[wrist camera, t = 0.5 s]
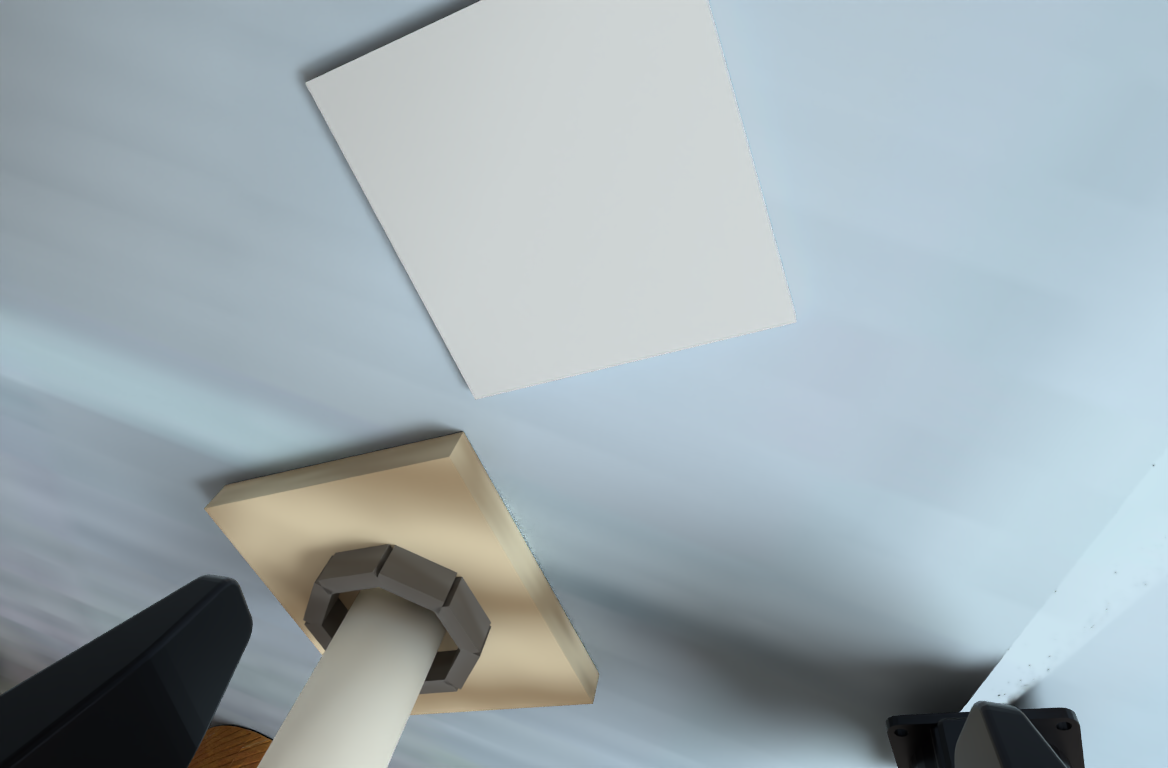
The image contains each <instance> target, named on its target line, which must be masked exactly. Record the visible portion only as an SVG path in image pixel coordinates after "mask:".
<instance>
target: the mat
mask: <svg viewBox="0 0 1168 768" xmlns="http://www.w3.org/2000/svg"><path fill="white" fill-rule="evenodd" d="M305 84H306V85H307V87H308V89H309V91H310V93H311V95H312V97H313V99H314V100H315V102H316V104H317V106H318V108H319V110H320V112H321V113H322V115H323V117H324V119H325V121H326V123H327V125H328V126H329V128H330V130H331V132H332V134H333V136H334V138H335V139H336V141H337V143H338V145H339V147H340V149H341V151H342V152H343V154H344V156H345V158H346V160H347V162H348V164H349V165H350V167H351V169H352V171H353V173H354V175H355V177H356V178H357V180H358V182H359V184H360V186H361V188H362V190H363V192H364V193H365V195H366V197H367V199H368V201H369V203H370V205H371V206H372V208H373V210H374V212H375V214H376V216H377V218H378V219H379V221H380V223H381V225H382V227H383V229H384V231H385V232H386V234H387V236H388V238H389V240H390V242H391V244H392V245H393V247H394V249H395V251H396V253H397V255H398V257H399V258H400V260H401V262H402V264H403V266H404V268H405V270H406V271H407V273H408V275H409V277H410V279H411V281H412V283H413V285H414V286H415V288H416V290H417V292H418V294H419V296H420V298H421V299H422V301H423V303H424V305H425V307H426V309H427V311H428V312H429V314H430V316H431V318H432V320H433V322H434V324H435V325H436V327H437V329H438V331H439V333H440V335H441V337H442V338H443V340H444V342H445V344H446V346H447V348H448V350H449V351H450V353H451V355H452V357H453V359H454V361H455V363H456V364H457V366H458V368H459V370H460V372H461V374H462V376H463V377H464V379H465V381H466V383H467V385H468V387H469V389H470V391H471V392H472V394H473V396H474V398H475V400H476V399H480V398H484V397H488V396H493V395H497V394H501V393H505V392H509V391H513V390H517V389H522V388H526V387H530V386H534V385H538V384H542V383H547V382H551V381H555V380H559V379H563V378H567V377H571V376H576V375H580V374H584V373H588V372H592V371H596V370H601V369H605V368H609V367H613V366H617V365H621V364H625V363H630V362H634V361H638V360H642V359H646V358H650V357H655V356H659V355H663V354H667V353H671V352H675V351H679V350H684V349H688V348H692V347H696V346H700V345H704V344H708V343H713V342H717V341H721V340H725V339H729V338H733V337H738V336H742V335H746V334H750V333H754V332H758V331H762V330H767V329H771V328H775V327H779V326H783V325H787V324H792V323H796V312H795V309H794V305H793V301H792V298H791V294H790V291H789V287H788V284H787V280H786V276H785V273H784V269H783V266H782V262H781V258H780V255H779V251H778V248H777V244H776V240H775V237H774V233H773V230H772V226H771V223H770V219H769V215H768V212H767V208H766V205H765V201H764V197H763V194H762V190H761V187H760V183H759V180H758V176H757V172H756V169H755V165H754V162H753V158H752V154H751V151H750V147H749V144H748V140H747V136H746V133H745V129H744V126H743V122H742V119H741V115H740V111H739V108H738V104H737V101H736V97H735V93H734V90H733V86H732V83H731V79H730V76H729V72H728V68H727V65H726V61H725V58H724V54H723V50H722V47H721V43H720V40H719V36H718V32H717V29H716V25H715V22H714V18H713V15H712V11H711V7H710V4H709V0H481V1H479V2H477V3H474V4H472V5H470V6H468V7H466V8H464V9H462V10H460V11H457V12H455V13H453V14H451V15H449V16H447V17H445V18H442V19H440V20H438V21H436V22H434V23H432V24H430V25H427V26H425V27H423V28H421V29H419V30H417V31H415V32H413V33H410V34H408V35H406V36H404V37H402V38H400V39H398V40H395V41H393V42H391V43H389V44H387V45H385V46H383V47H380V48H378V49H376V50H374V51H372V52H370V53H368V54H366V55H363V56H361V57H359V58H357V59H355V60H353V61H351V62H348V63H346V64H344V65H342V66H340V67H338V68H336V69H333V70H331V71H329V72H327V73H325V74H323V75H321V76H319V77H316V78H314V79H312V80H310V81H308V82H306V83H305Z"/></svg>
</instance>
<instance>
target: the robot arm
mask: <svg viewBox="0 0 1168 768" xmlns="http://www.w3.org/2000/svg"><path fill="white" fill-rule="evenodd" d="M252 626H253V622H252V617H251V614H250V612H249V609H248V606H247V604H246V601H245V598H244V596H243V593H242V591H241V588H240V586H239V584H238V582H237V581H236V580H234V579H232V578H228V577H222V576H216V575H204V576H201V577H199V578H197V579H195V580H193V581H192V582H190V583H188V584H187V585H185V586H183V587H182V588H180V589H178V590H177V591H175V592H173V593H172V594H170V595H168V596H166V597H165V598H163V599H161V600H160V601H158V602H156V603H155V604H153V605H151V606H150V607H148V608H146V609H145V610H143V611H141V612H140V613H138V614H136V615H135V616H133V617H131V618H129V619H128V620H126V621H124V622H123V623H121V624H119V625H118V626H116V627H114V628H113V629H111V630H109V631H108V632H106V633H104V634H103V635H101V636H99V637H97V638H96V639H94V640H92V641H91V642H89V643H87V644H86V645H84V646H82V647H81V648H79V649H77V650H76V651H74V652H72V653H71V654H69V655H67V656H66V657H64V658H62V659H60V660H59V661H57V662H55V663H54V664H52V665H50V666H49V667H47V668H45V669H44V670H42V671H40V672H39V673H37V674H35V675H34V676H32V677H30V678H29V679H27V680H25V681H23V682H22V683H20V684H18V685H17V686H15V687H13V688H12V689H10V690H8V691H7V692H5V693H3V694H2V695H0V768H188V766H189V764H190V762H191V760H192V759H193V757H194V755H195V753H196V751H197V750H198V748H199V746H200V744H201V742H202V740H203V738H204V736H205V734H206V732H207V730H208V727H209V725H210V723H211V721H212V719H213V717H214V714H215V712H216V710H217V708H218V706H219V704H220V702H221V699H222V697H223V695H224V693H225V691H226V689H227V687H228V684H229V682H230V680H231V678H232V676H233V674H234V671H235V669H236V667H237V665H238V663H239V661H240V659H241V656H242V654H243V652H244V650H245V648H246V646H247V644H248V641H249V639H250V636H251V633H252ZM886 727H887V733H888V737H889V740H890V743H891V746H892V750H893V753H894V756H895V760H896V763H897V766H898V768H1085V767H1084V758H1083V749H1082V740H1081V730H1080V724H1079V722H1078V719H1077V717H1076V714H1075V712H1073V711H1072V710H1070V709H1067V708H1040V709H1020V710H1019V709H1018V708H1016V707H1014V706H1011V705H1006V704H1000V703H993V702H987V701H978V702H976V703H975V704H974V705H973V707H972V708H971V711H970V712H957V713H937V714H916V715H897V716H892V717H890V718H888V719H887V720H886Z"/></svg>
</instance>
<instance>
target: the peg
mask: <svg viewBox="0 0 1168 768" xmlns="http://www.w3.org/2000/svg"><path fill="white" fill-rule="evenodd" d="M445 633H446V629H445V627H444V626H443V624H442V623H441V621H440V620H439V618H438V617H437V615H436V614H435V612H434V611H431V610H429V609H427V608H425V607H422V606H420V605H418V604H416V603H413V602H411V601H409V600H407V599H404V598H402V597H400V596H398V595H395V594H393V593H391V592H389V591H386V590H384V589H382V588H380V587H377V588H370V589H363V590H360V592H359V594H358V596H357V597H356V599H355V601H354V602H353V604H352V606H351V608H350V609H349V611H348V613H347V614H346V616H345V618H344V620H343V621H342V623H341V625H340V626H339V628H338V630H337V632H336V633H335V635H334V637H333V638H332V640H331V642H330V644H329V645H328V647H327V649H326V650H325V652H324V654H323V656H322V657H321V659H320V661H319V662H318V664H317V666H316V668H315V669H314V671H313V673H312V674H311V676H310V678H309V679H308V681H307V683H306V685H305V686H304V688H303V690H302V691H301V693H300V695H299V697H298V698H297V700H296V702H295V703H294V705H293V707H292V709H291V710H290V712H289V714H288V715H287V717H286V719H285V721H284V722H283V724H282V726H281V727H280V729H279V731H278V733H277V734H276V736H275V738H274V739H273V741H272V743H271V745H270V746H269V748H268V750H267V751H266V753H265V755H264V757H263V758H262V760H261V762H260V763H259V765H258V767H257V768H387V767H388V764H389V762H390V760H391V757H392V755H393V753H394V750H395V748H396V746H397V744H398V741H399V739H400V737H401V734H402V732H403V730H404V727H405V725H406V723H407V720H408V718H409V716H410V714H411V711H412V709H413V707H414V704H415V702H416V700H417V697H418V695H419V693H420V690H421V688H422V686H423V684H424V681H425V679H426V677H427V674H428V672H429V670H430V667H431V665H432V663H433V660H434V658H435V656H436V654H437V651H438V649H439V647H440V644H441V642H442V640H443V637H444V635H445Z"/></svg>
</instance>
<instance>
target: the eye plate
mask: <svg viewBox="0 0 1168 768" xmlns="http://www.w3.org/2000/svg"><path fill="white" fill-rule="evenodd" d="M204 509H205V510H206V512H207V513H208V514H209V515H210V517H211V518H212V519H213V520H214V522H215V523H216V524H217V525H218V527H219V528H220V529H221V530H222V531H223V533H224V534H225V535H226V536H227V538H228V539H229V540H230V541H231V543H232V544H233V545H234V546H235V548H236V549H237V550H238V551H239V553H240V554H241V555H242V556H243V557H244V559H245V560H246V561H247V562H248V564H249V565H250V566H251V567H252V569H253V570H254V571H255V572H256V574H257V575H258V576H259V577H260V579H261V580H262V581H263V582H264V583H265V585H266V586H267V587H268V588H269V590H270V591H271V592H272V593H273V595H274V596H275V597H276V598H277V600H278V601H279V602H280V603H281V605H282V606H283V607H284V608H285V609H286V611H287V612H288V613H289V614H290V616H291V617H292V618H293V619H294V621H295V622H296V623H297V624H298V626H299V627H300V628H301V629H302V631H303V632H304V633H305V634H306V635H307V637H308V638H309V639H310V640H311V642H312V643H313V644H314V645H315V647H316V648H317V649H318V650H319V652H320V653H321V654H322V655H323V654H324V652H325V650H326V649H327V647H328V645H329V644H330V642H331V640H332V638H333V637H334V635H335V633H336V632H337V630H338V628H339V626H340V625H341V623H342V621H343V620H344V618H345V616H346V614H347V613H348V611H349V609H350V608H351V606H352V604H353V602H354V601H355V599H356V597H357V596H358V594H359V592H360V590H363V589H370V588H377V587H380V588H382V589H384V590H386V591H389V592H391V593H393V594H395V595H398V596H400V597H402V598H404V599H407V600H409V601H411V602H413V603H416V604H418V605H420V606H422V607H425V608H427V609H429V610H431V611H434V612H435V614H436V615H437V617H438V618H439V620H440V621H441V623H442V624H443V626H444V627H445V629H446V633H445V635H444V637H443V640H442V642H441V644H440V647H439V649H438V651H437V654H436V656H435V658H434V660H433V663H432V665H431V667H430V670H429V672H428V674H427V677H426V679H425V681H424V684H423V686H422V688H421V690H420V693H419V695H418V697H417V700H416V702H415V704H414V707H413V709H412V711H411V714H410V715H418V714H434V713H450V712H466V711H482V710H498V709H514V708H530V707H546V706H562V705H578V704H593V701H594V697H595V692H596V687H597V682H598V678H599V673H598V671H597V669H596V667H595V666H594V664H593V662H592V660H591V658H590V657H589V655H588V653H587V651H586V650H585V648H584V646H583V644H582V642H581V641H580V639H579V637H578V635H577V633H576V632H575V630H574V628H573V626H572V625H571V623H570V621H569V619H568V617H567V616H566V614H565V612H564V610H563V608H562V607H561V605H560V603H559V601H558V600H557V598H556V596H555V594H554V592H553V591H552V589H551V587H550V585H549V583H548V582H547V580H546V578H545V576H544V575H543V573H542V571H541V569H540V567H539V566H538V564H537V562H536V560H535V558H534V557H533V555H532V553H531V551H530V550H529V548H528V546H527V544H526V542H525V541H524V539H523V537H522V535H521V533H520V532H519V530H518V528H517V526H516V525H515V523H514V521H513V519H512V517H511V516H510V514H509V512H508V510H507V508H506V507H505V505H504V503H503V501H502V500H501V498H500V496H499V494H498V492H497V491H496V489H495V487H494V485H493V483H492V482H491V480H490V478H489V476H488V475H487V473H486V471H485V469H484V467H483V466H482V464H481V462H480V460H479V458H478V457H477V455H476V453H475V451H474V450H473V448H472V446H471V444H470V442H469V441H468V439H467V437H466V435H465V433H464V432H460V433H456V434H451V435H447V436H442V437H438V438H433V439H429V440H424V441H420V442H415V443H411V444H406V445H402V446H398V447H393V448H389V449H384V450H380V451H375V452H371V453H366V454H362V455H357V456H353V457H348V458H344V459H339V460H335V461H331V462H326V463H322V464H317V465H313V466H308V467H304V468H299V469H295V470H290V471H286V472H281V473H277V474H273V475H268V476H264V477H259V478H255V479H250V480H246V481H241V482H237V483H232V484H228V485H225V486H224V487H223V489H222V490H221V491H220V492H219V493H218V494H217V495H216V496H215V497H214V498H213V499H212V500H211V502H210V503H209V504H208V505H207V506H206V507H205V508H204Z"/></svg>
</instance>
